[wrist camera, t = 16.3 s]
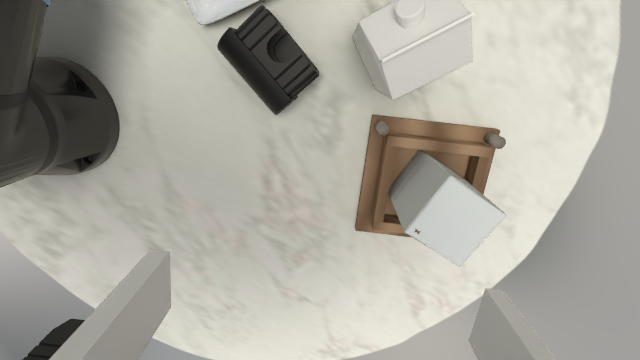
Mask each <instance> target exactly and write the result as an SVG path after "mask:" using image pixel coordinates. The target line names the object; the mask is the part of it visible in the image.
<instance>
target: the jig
mask: <svg viewBox="0 0 640 360" xmlns="http://www.w3.org/2000/svg"><path fill="white" fill-rule="evenodd" d="M499 133H500V130H498V129H493V128H484V127H476V126H467V125H458V124H450V123H441V122H432V121H424V120H415V119H406V118H398V117H389V116H380V115H372V120H371V127H370V133H369V140H368V146H367V153H366V159H365V166H364V173H363V179H362V186H361V192H360V199H359V205H358V212H357V219H356V225H355V229H356V231H364V232H372V233H381V234H389V235H398V236H406V237H411V236H410V235H408V234H406V233H405V232H404V230H403V228H402V225H401V223H400V220H399V218H398V216H397V213H396V211H395V209H394V206H393V204H392V201H391V199H390V197H389V194H388V192H389V188H390V187H391V186H392V184H393V183H394V182H395V180H396V179H397V178H398V176H399V175H400V174H401V173H402V171H403V170H404V169H405V167H406V166H407V165H408V163H409V162H410V161H411V159H412V158H413V157H414V156H415V154H416V153H417V152H418V151H419V150H423V151H424V152H426V153H427V154H429V155H430V156H432V157H433V158H435V159H436V160H438V161H439V162H441V163H442V164H444V165H445V166H447V167H448V168H450V169H451V170H453V171H454V172H455V173H457V174H458V175H460V176H461V177H463V178H464V179H465V180H467V181H468V182H469V183H470V184H471V185H472V186H473V187H475V188H476V189H477V190H478V191H479V192H480V193H481V194H482V195H483V193H484V190H485V186H486V182H487V178H488V175H489V171H490V167H491V163H492V160H493V156H494V152H495V148H497V149H500V148H503V147H504V146H505V143H506V141H505V139H504V138H503V137H500V136H499Z"/></svg>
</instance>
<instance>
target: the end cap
mask: <svg viewBox="0 0 640 360" xmlns="http://www.w3.org/2000/svg"><path fill="white" fill-rule="evenodd" d="M218 50H219V51H220V52H221V53H222V54H223V56H224V57H225V58H226V59H227V60H228V61H229V62H230V64H231V65H232V66H233V67H234V68H235V69H236V70H237V72H238V73H239V74H240V75H241V76H242V77H243V79H244V80H245V81H246V82H247V83H248V84H249V85H250V87H251V88H252V89H253V90H254V91H255V92H256V93H257V95H258V96H259V97H260V98H261V99H262V100H263V102H264V103H265V104H266V105H267V106H268V107H269V108H270V110H271V111H272V112H273V113H274V114H275V115H277V114H279V113H280V112H281V111H282V110H284V109H285V108H286V107H287V106H288V105H289V104H290V103H292V102H293V101H294V100H295V99H296V98H297V97H298V96H297V94H299V93H300V92H301V91H302V90H303V89H304V88H305V87H306V86H308V85H309V84H310V83H311V82H312V81H313V80H314V79H315V78H317V77H318V76H319V71H318V70H317V68H316V67H315V65H314V64H313V63H312V62H311V61H310V59H309V58H308V57H307V56H306V54H305V53H304V52H303V51H302V49H301V48H300V47H299V46H298V44H297V43H296V42H295V41H294V40H293V38H292V37H291V36H290V35H289V33H288V32H287V31H286V30H285V28H284V27H283V26H282V25H281V24H280V22H279V21H278V20H277V19H276V17H275V16H274V15H273V14H272V13H271V12H270V11H269V10H268V9H266V8H265V7H264V6H263V5H262V6H260V7H259V8H258V9H257V10H256V11H255V12H254V13H253V14H252V15H251V16H250V17H249V18H248V19H247V20H246V21H245V22H244V23H243V24H242V25H241V26H240V27H239V28H238V29H237V30H236V29H233V28H231V27H230V28H229V29H228V30H227V31H226V32H225V33H224V34H223V36H222V37H221V39H220V40H219V42H218Z"/></svg>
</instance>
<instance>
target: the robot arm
mask: <svg viewBox="0 0 640 360" xmlns="http://www.w3.org/2000/svg"><path fill="white" fill-rule="evenodd" d="M50 5H51V1H50V0H0V187H3V186H6V185H8V184H11V183H14V182H16V181H19V180H22V179H24V178H27V177H29V176H32V175H72V174H77V173H81V172H84V171H87V170H89V169H91V168H94V167H96V166H98V165H100V164H101V163H102V162H104V161H105V160H106V159H107V158H108V157H109V156H110V154H111V153H112V151H113V150H114V148H115V145H116V142H117V139H118V133H119V122H118V115H117V111H116V108H115V105H114V103H113V100H112V98H111V96H110V95H109V93H108V91H107V90H106V88H105V87H104V86H103V85H102V83H101V82H100V81H99V80H98V79H97V78H96V77H95V76H94V75H93V74H91V73H90V72H89V71H88V70H86V69H85V68H83V67H81V66H80V65H78V64H76V63H73V62H71V61H68V60H64V59H59V58H43V57H36V54H37V49H38V45H39V40H40V35H41V31H42V26H43V21H44V17H45V12H46V7H50ZM170 308H171V285H170V251H161V250H153V249H151V250H150V251H149V252H148V253H147V254H146V255H145V256H144V258H143V259H142V260H141V261H140V262H139V263H138V264H137V265H136V266H135V267H134V268H133V269H132V270H131V272H130V273H129V274H128V275H127V276H126V277H125V278H124V279H123V280H122V281H121V282H120V283H119V285H118V286H117V287H116V288H115V289H114V290H113V291H112V292H111V293H110V294H109V295H108V296H107V297H106V299H105V300H104V301H103V302H102V303H101V304H100V305H99V306H98V307H97V308H96V309H95V310H94V312H93V313H92V314H91V315H90V316H89V317H88V318H87V319H86V320H78V319H70V320H68V321H66V322H65V323H63V324H61V325H60V326H58V327H56V328H55V329H53V330H52V331H51V332H50V333H49V334H48V335H47V336H46V337H45V338H44V339H43V340H42V341H41V342H40V343H39V345H38V346H36V347H35V348H34V349H33V350H32V351H31V352H30V353H29V354H28V356H27V357H25V358H24V359H23V360H138V358H139V357H140V355H141V353H142V352H143V350H144V349H145V347H146V346H147V344H148V342H149V341H150V339H151V338H152V336H153V335H154V333H155V331H156V330H157V328H158V327H159V325H160V323H161V322H162V320H163V319H164V317H165V316H166V314H167V312H168V311H169V309H170ZM469 343H470V345H471V347H472V349H473V351H474V353H475V355H476V356H477V359H478V360H556V359H555V357H554V356H553V355H552V353H551V352H550V351H549V349H548V348H547V347H546V346H545V344H544V343H543V342H542V340H541V339H540V338H539V336H538V335H537V334H536V332H535V331H534V330H533V328H532V327H531V326H530V324H529V323H528V322H527V321H526V319H525V318H524V317H523V315H522V314H521V313H520V312H519V310H518V309H517V307H516V306H515V305H514V304H513V302H512V301H511V300H510V298H509V297H508V296H507V294H506V293H505V292H504V291H503V290H495V289H487V288H486V289H485V292H484V295H483V298H482V301H481V304H480V307H479V310H478V313H477V316H476V319H475V323H474V326H473V329H472V332H471V335H470V338H469Z"/></svg>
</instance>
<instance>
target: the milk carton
mask: <svg viewBox="0 0 640 360" xmlns="http://www.w3.org/2000/svg"><path fill="white" fill-rule="evenodd" d="M474 15H476V12H473V13H470V12H469V11H468V10H467V8H466V7H465V6H464V4H463V3H462V2H461V1H460V0H396V1H394V2H392V3H390V4H389V5H387V6H385V7H383V8H381V9H379V10H378V11H376V12H374V13H372V14H370V15H369V16H367V17H365V18H363V19H362V20H360V21H359V23H358V25H357V27H356V29H355V31H354V34H353V36H352V38H353V40H354V42H355V44H356V47H357V49H358V51H359V53H360V55H361V58H362V60H363V62H364V64H365V67H366V69H367V71H368V73H369V76H370V78H371V80H372V82H373V85H374V87H375V89H376V90H377V91H379V92H381V93H382V94H384V95H386V96H388V97H389V98H391V99H393V100H394V99H397V98H399V97H401V96H403V95H405V94H407V93H409V92H411V91H413V90H415V89H417V88H419V87H421V86H424V85H426V84H428V83H430V82H432V81H434V80H436V79H438V78H440V77H442V76H444V75H446V74H448V73H450V72H452V71H454V70H456V69H458V68H460V67H462V66H464V65H466V64H468V63H470V62H472V61H473V56H472V25H471V17H472V16H474Z"/></svg>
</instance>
